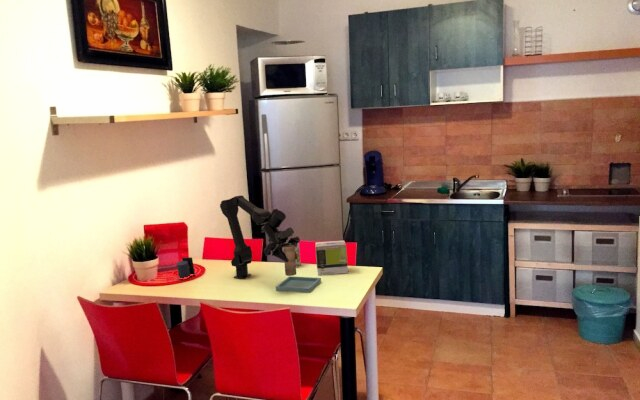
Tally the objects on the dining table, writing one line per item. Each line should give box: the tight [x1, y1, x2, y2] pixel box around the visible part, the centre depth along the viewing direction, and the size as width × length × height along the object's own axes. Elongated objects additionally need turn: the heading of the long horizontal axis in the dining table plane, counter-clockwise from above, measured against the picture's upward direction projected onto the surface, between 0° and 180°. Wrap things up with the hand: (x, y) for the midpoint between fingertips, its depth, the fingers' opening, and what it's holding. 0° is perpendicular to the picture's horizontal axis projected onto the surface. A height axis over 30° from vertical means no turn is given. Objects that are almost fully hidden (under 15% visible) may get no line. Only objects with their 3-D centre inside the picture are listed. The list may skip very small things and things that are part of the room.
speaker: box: [176, 256, 196, 278], centre depth 275 cm, size 8×6×10 cm
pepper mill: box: [283, 245, 297, 277], centre depth 247 cm, size 5×5×13 cm
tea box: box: [315, 240, 349, 276], centre depth 272 cm, size 15×10×15 cm, turn 92°
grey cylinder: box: [282, 242, 301, 268], centre depth 286 cm, size 9×8×12 cm
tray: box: [275, 276, 322, 294], centre depth 252 cm, size 16×16×2 cm
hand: (292, 260), depth 246 cm, fingers closed on pepper mill, 5 cm apart
